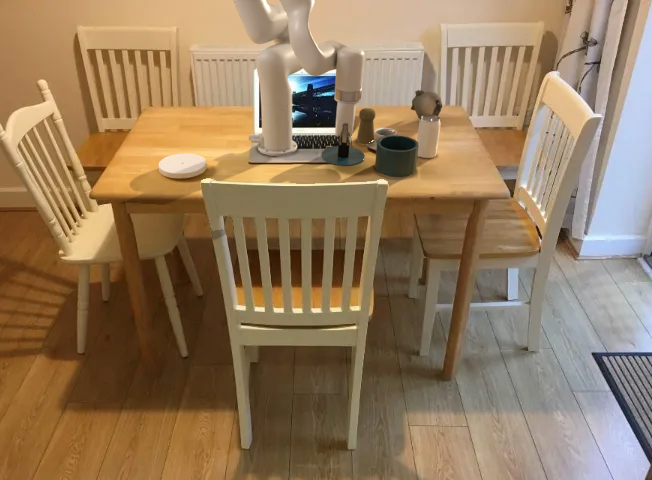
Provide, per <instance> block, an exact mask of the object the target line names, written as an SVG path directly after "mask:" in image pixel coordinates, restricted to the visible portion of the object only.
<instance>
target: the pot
mask: <svg viewBox="0 0 652 480" xmlns="http://www.w3.org/2000/svg"><path fill="white" fill-rule="evenodd" d="M418 147H419V145H418V142H417V139H415V138H413V137H410V136H406V135H400V134H399V135H397V134H392V135H385V136H382V137H379V138H378V140H376V148H375V149H376V150H375V163H374V170H375V171H376V172H377V173H379V174H381V175H383V176H385V177H390V178H404V177H410V176H411V175H414V173H416V170H417V163H418V156H417V155H418ZM390 149H396V150H404V151H396V150H390Z"/></svg>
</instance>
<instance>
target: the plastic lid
mask: <svg viewBox="0 0 652 480" xmlns="http://www.w3.org/2000/svg"><path fill="white" fill-rule="evenodd" d="M207 165H208V164H207V160H206V158H205V157H203V156H201V155H199V154H195V153H189V152H186V153H185V152H184V153H175V154H171V155H168V156H166V157H164V158H162V159H160V160H159V162H158V165H157V167H158V172H159V173H160V174H161V175H162V176H164V177H167V178H170V179H189V178H193V177H197V176H200V175H201V174H203V173H204V172H205V171H206V170H207V167H208V166H207Z"/></svg>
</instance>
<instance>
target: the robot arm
mask: <svg viewBox="0 0 652 480" xmlns="http://www.w3.org/2000/svg"><path fill="white" fill-rule="evenodd" d="M232 1H233V3H234V5H235V8H236V10H237V12H238V15H239V18H240V20H241V22H242V24H243V27H244V29H245V31H246V33H247V36H248V38H249V39H250V41H251V42H252V43H254V44H257V45H263V44H266V43H269V42H272V41H273V42H274V44H272V45H270V46H268V47H266V48H264V49H263V50H262V51H261V52H260V53H259V54H258V56H257V58H256V65H255V67H256V72H257V76H258V81H259V90H260V108H261V109H260V111H261V114H260V115H261V133H259V134H251V133H249V134H248V141H251V142H250V143H251V144H257V150H258V152H259V153H261V154H263V155H265V156H270V157H277V156H285V155H286V156H287V155H290V154H292V153H294V152H296V151H297V149H298V143H297V142H296V141H294V140H293V91H292V87H291V85H290V83H289V78H288V77H290V76H291V75H294V74H295V73H297V72H299V71H301V70H304V71H305V72H306V73H307V74H308V75H309V76H312V77H319V76H322V75H324V74H327V73H328V72H330V71H335V81H334V82H335V83H334V96H333V97H334V99H333V100H334V101H336V103H337V105H336V114H335V115H336V116H335V127H334V128H335V129H334V131H335V132H334V135H335V137H339V139H338V145H337V146H338V157H345V158H348V157H349V147H350V145H351V143H350V142H351V139H350V138H351V137H352V136H353V131H354V126H355V118H356V109H357V104H358V103H360V102H361V101H362V90H363V79H364V69H365V59H366V58H365V56H366V55H365V51H364V50H363V49H361V48H359V47H356V46H348V45H346V44H343V43H342V42H340V41H338V40H334V39H333V40H331V39H330V40H327V41H325V42H322V43H319V44H317V43H316V41H315V39H314V37H313V35H312V33H311V29H310V16H311V14H312V12H313V9H314V7H315V5H316V0H279V3H270V4H268V2H267V0H232Z"/></svg>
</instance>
